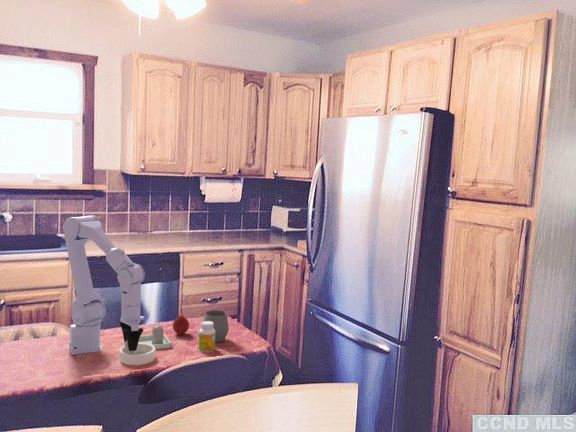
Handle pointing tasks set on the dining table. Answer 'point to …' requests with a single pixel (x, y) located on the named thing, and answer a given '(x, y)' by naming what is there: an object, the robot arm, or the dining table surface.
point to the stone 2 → (157, 335)
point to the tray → (148, 340)
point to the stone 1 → (128, 349)
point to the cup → (218, 323)
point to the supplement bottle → (207, 337)
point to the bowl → (138, 355)
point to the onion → (180, 325)
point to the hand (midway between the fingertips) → (130, 346)
